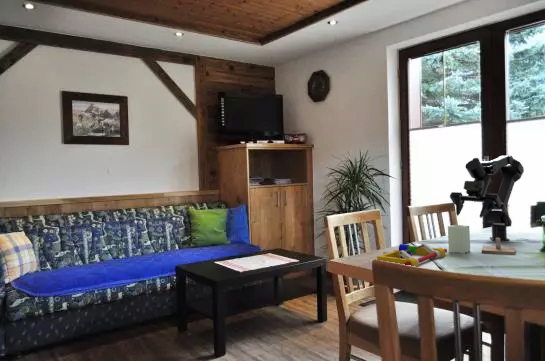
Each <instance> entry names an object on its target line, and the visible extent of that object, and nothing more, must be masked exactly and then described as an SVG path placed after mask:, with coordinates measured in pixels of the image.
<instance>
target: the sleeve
mask: <svg viewBox="0 0 545 361" xmlns="http://www.w3.org/2000/svg"><path fill="white" fill-rule="evenodd" d="M470 232H471V231H470V225H461V224H452V225H451V224H450V225H448V226H447V239H448V241H447V242H448V252H449V251H450V252H449V253H455V252H461V253H460V254H463V253H464V254H466V253H465V252H467V253H469V252H468V251H470V252H471V237H470V236H471V235H470V234H471V233H470Z"/></svg>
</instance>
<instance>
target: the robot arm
mask: <svg viewBox="0 0 545 361" xmlns="http://www.w3.org/2000/svg"><path fill="white" fill-rule="evenodd" d="M465 169H466V171H467V172H468V174H469V175H470V178H472V179H474V180H465V181H464V182H463V183H464V184H463V189H464V190H465V193H466V194H467V195H463V193H462V192H460V191H452V192H451V193H450V195H449V198H450V199H451V202H452V203H453V204H454V205H455V212H456V214H455V215H456V216H457V217H458V216H459V215H460V214H461V212H462V210H463V208H464V204H465V202H474V203H483V206H482V208H481V210H480V214H479V218H483V217H484V218H485V223H486V226H491V236H490V237H489V239H490V240H492V241H495V242H496V238H500V242H502V241H510V240H511V239H510V238H508V236H507V234H508V233H507V232H508V231H507V227H512V221H513V220H512V219H511V216H510V215H509V212H508V209H507V206H508V203H509V200H510V197H511V194H512V192H513V189H514V185H515V183H516V182H518V181H519V180H521V178H522V176H523V174H524V171H525V170H524V166H523V165H522V163H521V162H520V161H518V160H517V159H515V158H514V157H513V156H512V155H510V154H508V155H499V156H498V157H497V158H494V159H492V160H489V161H481V160H480V158H478V157H473V158H472V159H471V160H470V161H468V162H467V163H466V164H465ZM499 171H500V173H501V176H502V181H501V183H500V186H499V190H498V192H497V193H488V187H489V185H491V184H493V183H492V182H493V181H492V179H491V176H490V175H493V176H494V175H495V174H497V173H498V172H499Z"/></svg>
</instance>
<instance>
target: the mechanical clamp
mask: <svg viewBox="0 0 545 361" xmlns="http://www.w3.org/2000/svg"><path fill="white" fill-rule="evenodd" d="M447 252H448V249H447V248H443V247H431V246H430V245H429V244H427V243H426V242H423V243H422V244H420V245H418V246H417V245H410V244H404V243H400V244H399V245H398V249H393V250H392V251H383V252H382V254H379V255H377V256H376V261H377V260H383V261H389V262H395V263H400V264H405V265H411V266H417V267H418V266H419V264H420V263H423V262H426V261H428V260H431V259H440V258H444V257H445V255H446V253H447ZM412 255H419V256H421V257H418V258H415V257H413V256H412Z"/></svg>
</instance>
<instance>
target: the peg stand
mask: <svg viewBox="0 0 545 361" xmlns="http://www.w3.org/2000/svg"><path fill="white" fill-rule="evenodd" d="M515 248H516V247H515V246H506V245H501V241H500V238H496V241H495V245H482V248H481V254H490V253H491V254H492V255H495V254H497V255H514V256H515V255H516V249H515Z"/></svg>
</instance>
